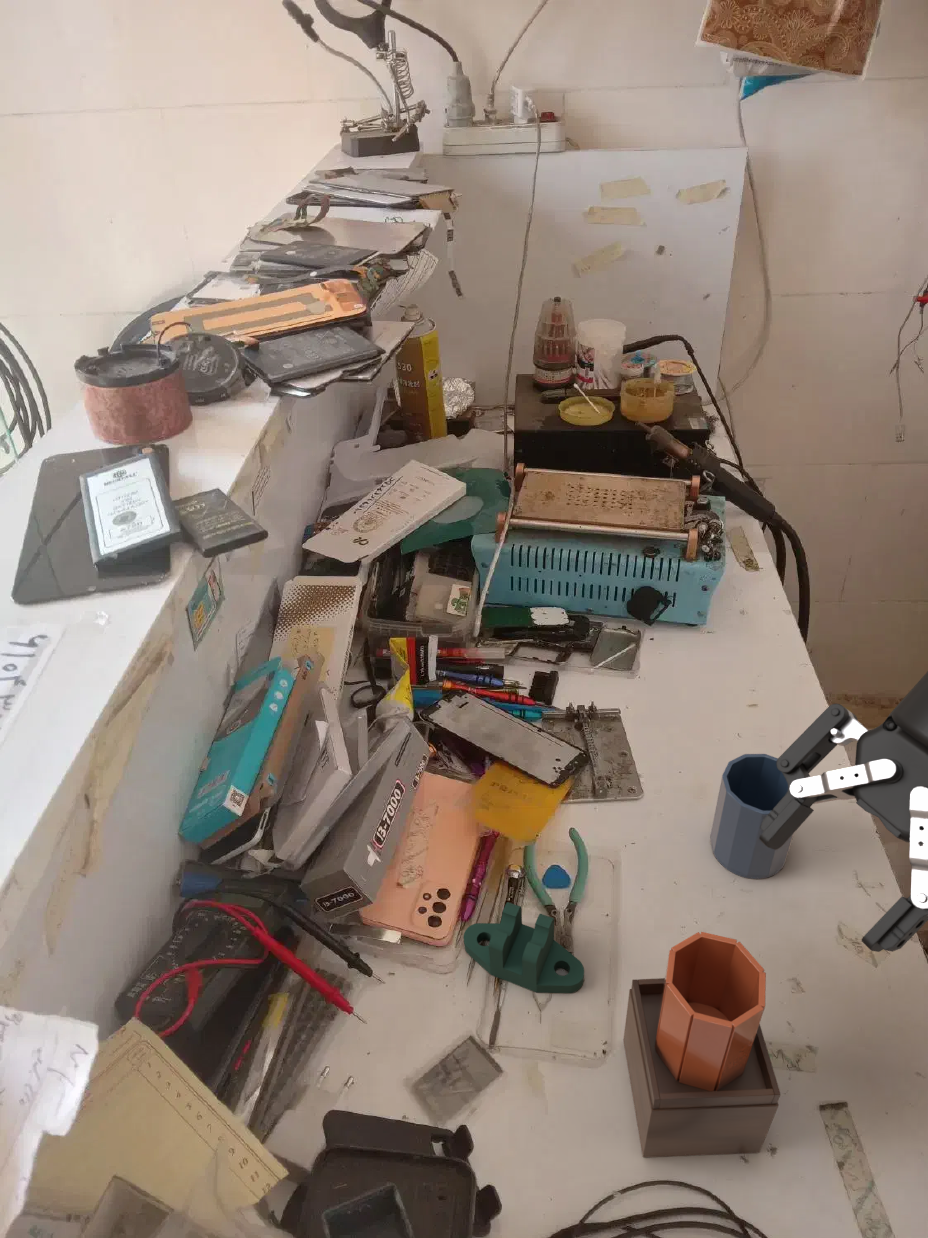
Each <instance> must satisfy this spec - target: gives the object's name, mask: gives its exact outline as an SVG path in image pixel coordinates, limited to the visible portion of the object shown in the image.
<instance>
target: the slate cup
mask: <svg viewBox="0 0 928 1238" xmlns="http://www.w3.org/2000/svg"><path fill="white" fill-rule="evenodd" d="M778 758H779V757H775V756H773V755H769V754H767V753H744V754H741V755H740V756H738V757H736V758H733V759H732V760H730V761H728V763H727V765H726V766H725V768H724V770H723V773H722V775H721V780H720V785H719V789H718V790H719V791H718V796H717V801H716V806H715V811H714V816H713V820H712V826H711V832H710V837H709V838H710V847H711V851H712V854H713V855H714V857H715V859H716V861H717V862H718V863H719V864H720V865H721V866H722V867H724V869H726V870H727V871H729V872H731V873H732V874H734V875H736V876H739V877H742V878H745V879H752V880H762V879H767V878H770V877H773V876H775V875H777V874H778V873H780V872H781V870H782V869H783V868H784V867H785V864H786V861H787V858H788V856H789V854H790V850H791V846H792V843H793V840H794V836H795V833H796V831H795V832H794V833H793V834H792V836H791V837H790V838H789V839H788V840H787V841H786V842H785V843H784V845H783V846H782V847H780V848H779V849H777V850H775V849H771V848H768V847H767V846H766V845H765V844H764V843H763V842H762V841H761V840H760V839H759V837H760V835H761V834H762V833H763V832H764V831H763V830H762V829H761V828H760V827H761V824H762V821H763V820H764V818H765V817H766V816H767V815H768V814H769V813H770V812H771V810H773V808H774V807H775V806H776V805H777V804H778V803H779V801H780V800H781V799H782V798H783V797H784V796H785V795H786V793H787V791H788V783H787V781H786V779H785V777H784V775H783V773H782V772H781V771H779V770H778V768H777V766H776V762H777V759H778Z"/></svg>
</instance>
